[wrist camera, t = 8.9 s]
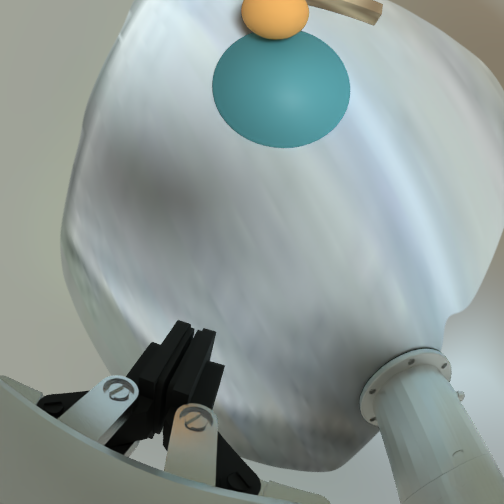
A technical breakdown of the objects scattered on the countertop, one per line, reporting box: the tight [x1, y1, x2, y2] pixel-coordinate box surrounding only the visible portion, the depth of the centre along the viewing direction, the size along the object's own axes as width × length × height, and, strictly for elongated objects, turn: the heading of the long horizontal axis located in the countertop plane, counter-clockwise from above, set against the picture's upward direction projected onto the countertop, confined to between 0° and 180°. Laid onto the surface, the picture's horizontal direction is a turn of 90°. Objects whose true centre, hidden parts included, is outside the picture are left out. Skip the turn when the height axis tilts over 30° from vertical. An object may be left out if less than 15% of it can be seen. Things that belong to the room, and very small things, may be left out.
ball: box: [241, 0, 309, 39], centre depth 17 cm, size 6×6×6 cm
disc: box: [212, 31, 350, 148], centre depth 21 cm, size 12×12×1 cm
